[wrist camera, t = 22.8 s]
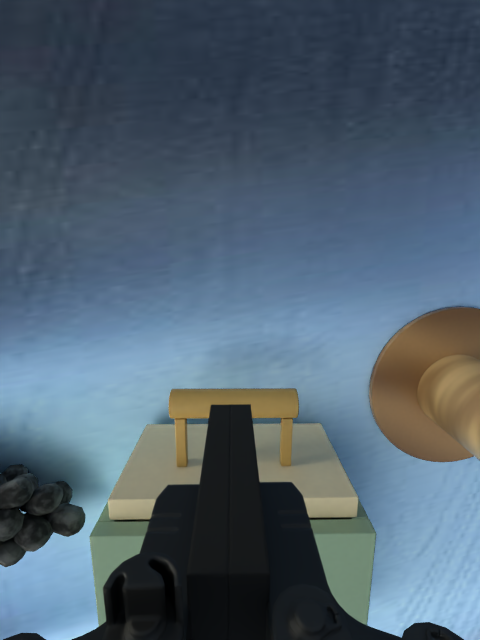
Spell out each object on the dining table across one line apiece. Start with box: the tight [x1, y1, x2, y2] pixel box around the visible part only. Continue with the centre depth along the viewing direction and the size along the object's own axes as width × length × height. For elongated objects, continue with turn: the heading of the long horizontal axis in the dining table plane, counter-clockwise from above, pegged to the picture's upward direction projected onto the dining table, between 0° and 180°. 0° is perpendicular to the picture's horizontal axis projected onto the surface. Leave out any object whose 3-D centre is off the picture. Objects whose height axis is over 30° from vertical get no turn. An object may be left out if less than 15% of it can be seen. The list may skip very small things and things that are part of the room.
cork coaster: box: [369, 307, 480, 462], centre depth 24 cm, size 12×12×1 cm
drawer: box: [108, 388, 358, 522], centre depth 21 cm, size 20×13×7 cm, turn 0°
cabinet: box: [90, 499, 376, 626], centre depth 22 cm, size 17×14×9 cm
